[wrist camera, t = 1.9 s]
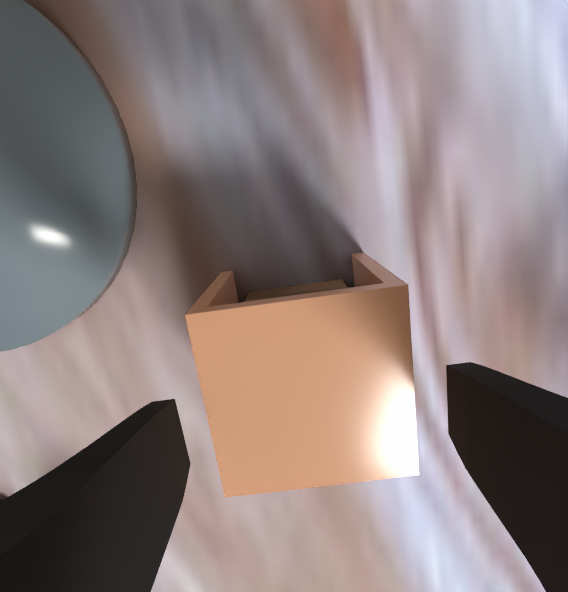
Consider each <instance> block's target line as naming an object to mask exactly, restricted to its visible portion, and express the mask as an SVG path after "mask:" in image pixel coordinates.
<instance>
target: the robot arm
mask: <svg viewBox="0 0 568 592" xmlns="http://www.w3.org/2000/svg"><path fill="white" fill-rule="evenodd" d="M446 369H447V400H448V431H449V436H450V438H451V440H452V442H453V444H454V446H455V448H456V450H457V452H458V454H459V456H460V458H461V460H462V462H463V464H464V466H465V468H466V470H467V471H468V473H469V474H470V476H471V477H472V479H473V480H474V482H475V483H476V485H477V486H478V488H479V489H480V491H481V492H482V494H483V495H484V497H485V498H486V500H487V501H488V503H489V504H490V506H491V507H492V509H493V510H494V512H495V513H496V515H497V516H498V518H499V519H500V521H501V522H502V523H503V525H504V526H505V528H506V529H507V531H508V532H509V534H510V535H511V537H512V538H513V540H514V541H515V543H516V544H517V546H518V547H519V549H520V550H521V552H522V553H523V555H524V556H525V558H526V559H527V561H528V562H529V564H530V566H531V567H532V569H533V570H534V572H535V574H536V575H537V577H538V578H539V580H540V582H541V584H542V585H543V587H544V589H545V591H546V592H568V398H566V397H564V396H561V395H558V394H555V393H553V392H550V391H547V390H545V389H542V388H539V387H537V386H534V385H532V384H529V383H526V382H524V381H521V380H519V379H516V378H514V377H511V376H509V375H506V374H503V373H501V372H498V371H496V370H493V369H490V368H487V367H485V366H482V365H478V364H475V363H471V362H469V363H461V364H453V365H446ZM189 468H190V460H189V456H188V452H187V448H186V444H185V440H184V435H183V431H182V427H181V423H180V419H179V415H178V411H177V407H176V403H175V399H171V400H163V401H154V402H151V403H149V404H148V405H146V406H144V407H143V408H141V409H139V410H138V411H137V412H135V413H134V414H132V415H131V416H129V417H128V418H126V419H125V420H124V421H122V422H121V423H120V424H118V425H117V426H115V427H114V428H113V429H111V430H110V431H108V432H107V433H106V434H104V435H103V436H101V437H100V438H99V439H97V440H96V441H94V442H93V443H92V444H90V445H89V446H87V447H86V448H84V449H83V450H81V451H80V452H78V453H77V454H76V455H74V456H73V457H71V458H70V459H68V460H67V461H65V462H64V463H62V464H61V465H59V466H58V467H56V468H55V469H53V470H52V471H50V472H49V473H47V474H46V475H44V476H42V477H41V478H39V479H38V480H36V481H34V482H33V483H31V484H29V485H28V486H26V487H25V488H23V489H21V490H19V491H18V492H16V493H14V494H12V495H11V496H9V497H7V498H6V499H4V500H2V501H0V592H151V589H152V586H153V583H154V581H155V578H156V575H157V572H158V569H159V567H160V564H161V561H162V558H163V555H164V553H165V550H166V547H167V544H168V541H169V539H170V536H171V533H172V530H173V527H174V524H175V521H176V519H177V516H178V513H179V510H180V507H181V504H182V501H183V497H184V492H185V488H186V483H187V478H188V473H189Z"/></svg>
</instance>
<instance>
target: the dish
mask: <svg viewBox="0 0 568 592" xmlns="http://www.w3.org/2000/svg"><path fill="white" fill-rule="evenodd" d="M136 208H137V183H136V175H135V168H134V160H133V156H132V152H131V148H130V144H129V140H128V136H127V133H126V130H125V127H124V125H123V122H122V119H121V117H120V114H119V112H118V109H117V107H116V105H115V103H114V101H113V99H112V97H111V96H110V94H109V92H108V90H107V88H106V86H105V84H104V83H103V81H102V80H101V78H100V77H99V75H98V74H97V72H96V71H95V69H94V68H93V66H92V65H91V63H90V62H89V60H88V59H87V58H86V57H85V56H84V55H83V53H82V52H81V51H80V50H79V49H78V47H77V46H76V45H75V44H74V43H73V41H72V40H71V39H70V38H69V37H68V36H67V35H66V34H64V33H63V32H62V31H61V30H60V29H59V28H58V27H57V26H56V25H55V24H54V23H53V22H52V21H51V20H50V19H48V18H47V17H46V16H44V15H43V14H42V13H40V12H39V11H38V10H36V9H35V8H34V7H32V6H31V5H30V4H28V3H27V2H26V1H24V0H0V351H6V350H11V349H15V348H18V347H21V346H25V345H28V344H31V343H33V342H35V341H38V340H40V339H42V338H44V337H46V336H48V335H50V334H52V333H54V332H55V331H57V330H59V329H61V328H62V327H64V326H66V325H67V324H69V323H70V322H72V321H73V320H75V319H77V318H78V317H80V316H81V315H83V314H84V313H85V312H86V311H87V310H88V309H89V308H90V307H92V306H93V305H94V304H95V303H96V302H97V301H98V300H99V299H100V297H101V296H102V295H103V294H104V293H105V292H106V290H107V289H108V288H109V287H110V285H111V283H112V282H113V280H114V279H115V277H116V275H117V274H118V272H119V270H120V268H121V266H122V264H123V261H124V259H125V257H126V254H127V252H128V249H129V245H130V242H131V238H132V234H133V231H134V224H135V216H136Z"/></svg>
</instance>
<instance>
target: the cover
mask: <svg viewBox="0 0 568 592" xmlns="http://www.w3.org/2000/svg"><path fill="white" fill-rule="evenodd" d="M351 256H352V266H353V276H354V287H351V288H344V289H337V290H329V291H322V292H315V293H307V294H300V295H292V296H285V297H278V298H270V299H263V300H256V301H248V302H241V303H239V301H238V296H237V290H236V285H235V279H234V273H233V270H232V271H225V272H221V273H220V274H219V275H218V276H217V278H216V279H215V280H214V281H213V282H212V284H211V285H210V286H209V287H208V288H207V289H206V291H205V292H204V293H203V294H202V295H201V296H200V298H199V299H198V300H197V301H196V302H195V304H194V305H193V306H192V307H191V308H190V309H189V311H188V312H187V313H186V314H185V318H186V323H187V327H188V332H189V336H190V341H191V345H192V350H193V354H194V359H195V363H196V368H197V373H198V377H199V382H200V386H201V391H202V395H203V400H204V404H205V409H206V413H207V418H208V422H209V427H210V432H211V436H212V441H213V445H214V450H215V454H216V459H217V463H218V468H219V472H220V477H221V482H222V486H223V491H224V495H225V497H232V496H241V495H250V494H259V493H267V492H276V491H285V490H294V489H302V488H311V487H320V486H329V485H337V484H346V483H355V482H364V481H372V480H381V479H390V478H399V477H407V476H416V475H419V463H418V446H417V429H416V412H415V395H414V378H413V361H412V343H411V326H410V309H409V292H408V284H406V283H405V282H404V281H402V280H401V279H400V278H398V277H397V276H395V275H394V274H393V273H391V272H390V271H389V270H387V269H386V268H384V267H383V266H382V265H380V264H379V263H377V262H376V261H375V260H373V259H372V258H371V257H369V256H368V255H366V254H365V253H364V252H361V253H354V254H351Z"/></svg>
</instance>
